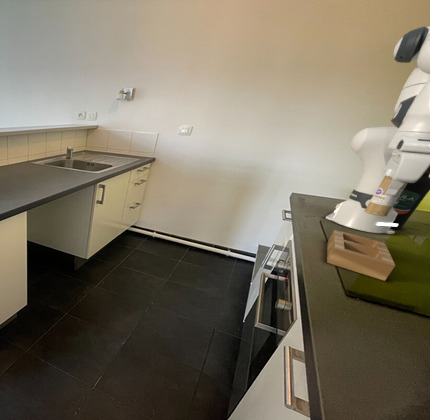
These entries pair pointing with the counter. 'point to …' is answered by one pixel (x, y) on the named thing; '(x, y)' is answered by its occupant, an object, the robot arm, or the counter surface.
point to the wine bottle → (411, 199)
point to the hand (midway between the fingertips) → (388, 192)
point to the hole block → (359, 254)
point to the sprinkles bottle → (383, 198)
